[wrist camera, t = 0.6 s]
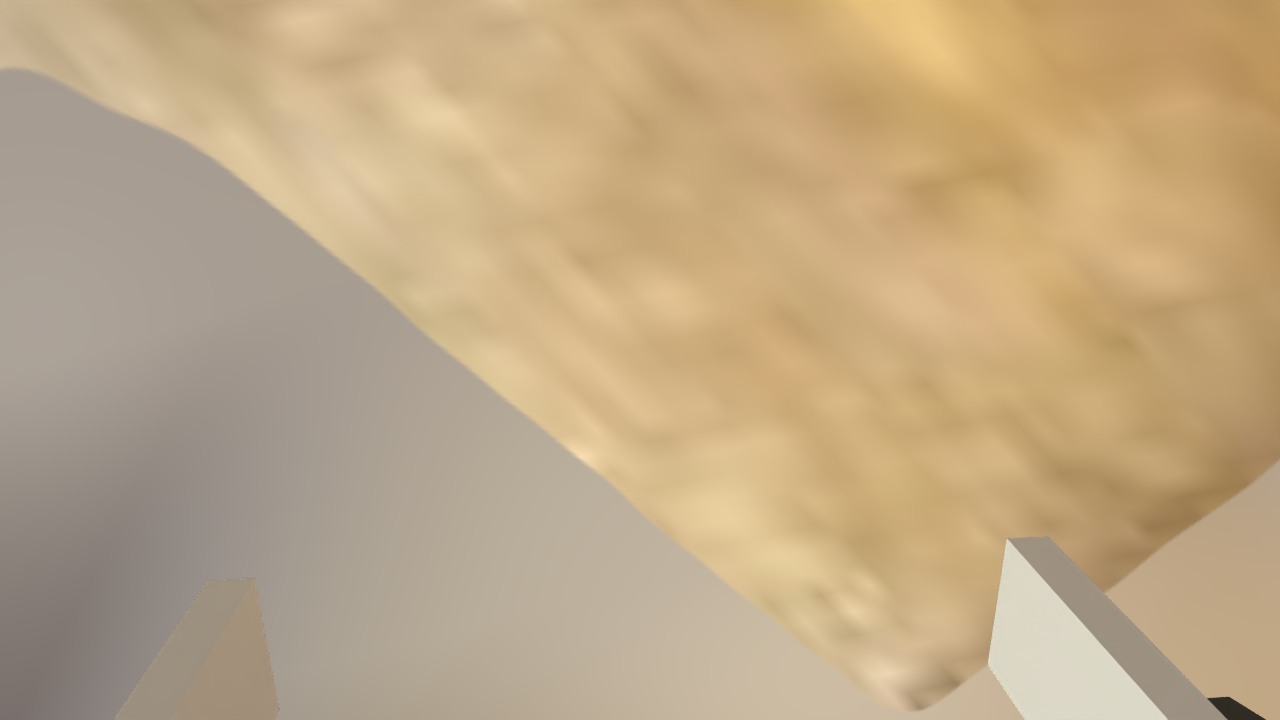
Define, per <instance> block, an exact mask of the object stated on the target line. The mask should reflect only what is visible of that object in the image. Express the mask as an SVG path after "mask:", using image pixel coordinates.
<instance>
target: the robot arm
mask: <svg viewBox="0 0 1280 720" xmlns="http://www.w3.org/2000/svg"><path fill="white" fill-rule="evenodd" d="M988 666H989V667H990V669H991V670H992V672H993V673H994V675H995V676H996V678H997V679H998V681H999V682H1000V684H1001V685H1002V687H1003V688H1004V689H1005V691H1006V692H1007V694H1008V695H1009V697H1010V698H1011V700H1012V701H1013V703H1014V704H1015V705H1016V707H1017V709H1018V710H1019V712H1020V713H1021V715H1022V716H1023V717H1024V719H1025V720H1265V719H1264V718H1262V717H1261V716H1259V715H1258V714H1256V713H1254V712H1253V711H1251V710H1249V709H1248V708H1246V707H1245V706H1243V705H1241V704H1240V703H1238V702H1237V701H1235V700H1233V699H1232V698H1230V697H1220V698H1219V697H1218V698H1206V697H1205V696H1204V695H1203V694H1202V693H1201V692H1200V691H1199V690H1198V689H1197V688H1196V687H1195V686H1194V685H1193V684H1192V683H1191V682H1190V681H1189V680H1188V679H1187V678H1186V677H1185V676H1184V675H1183V674H1182V673H1181V672H1180V671H1179V670H1178V669H1177V668H1176V666H1175V665H1173V664H1172V662H1171V661H1170V660H1169V659H1168V658H1167V657H1166V656H1165V655H1164V654H1163V653H1162V652H1161V651H1160V650H1159V649H1158V648H1157V647H1156V646H1155V645H1154V644H1153V643H1152V642H1151V641H1150V640H1149V639H1148V638H1147V637H1146V636H1145V635H1144V634H1143V633H1142V632H1141V631H1140V630H1139V629H1138V628H1137V627H1136V626H1135V625H1134V624H1133V623H1132V621H1131V620H1130V619H1128V617H1127V616H1126V615H1125V614H1124V613H1122V611H1121V610H1120V609H1119V608H1118V607H1117V606H1116V605H1115V604H1114V603H1113V602H1112V601H1111V600H1110V599H1109V598H1108V597H1107V596H1106V595H1105V594H1104V593H1103V592H1102V591H1101V590H1100V589H1099V588H1098V587H1097V586H1096V585H1095V584H1094V583H1093V582H1092V581H1091V580H1090V579H1089V577H1088V576H1087V575H1086V574H1085V573H1084V572H1083V571H1082V570H1081V569H1080V568H1079V567H1078V566H1077V565H1076V564H1075V563H1074V562H1073V561H1072V560H1071V559H1070V558H1069V557H1068V556H1067V555H1066V554H1065V553H1064V552H1063V551H1062V550H1061V549H1060V548H1059V547H1058V546H1057V545H1056V544H1055V543H1054V542H1053V541H1052V540H1051V539H1050V538H1049V537H1048V536H1047V537H1028V538H1008V539H1007V542H1006V549H1005V555H1004V562H1003V568H1002V575H1001V582H1000V588H999V595H998V601H997V608H996V614H995V621H994V627H993V634H992V640H991V647H990V653H989V660H988ZM278 712H279V704H278V698H277V693H276V688H275V683H274V677H273V672H272V667H271V662H270V656H269V651H268V646H267V641H266V635H265V630H264V625H263V620H262V615H261V609H260V604H259V599H258V594H257V588H256V583H255V578H246V579H227V580H209V581H207V582H206V584H205V585H204V587H203V588H202V590H201V591H200V593H199V594H198V596H197V597H196V599H195V600H194V602H193V603H192V605H191V606H190V608H189V609H188V610H187V612H186V613H185V615H184V616H183V618H182V620H181V621H180V622H179V624H178V625H177V627H176V628H175V630H174V631H173V633H172V634H171V636H170V637H169V638H168V640H167V641H166V643H165V644H164V646H163V648H162V649H161V650H160V652H159V653H158V655H157V656H156V658H155V659H154V661H153V662H152V664H151V665H150V667H149V668H148V670H147V671H146V672H145V674H144V675H143V677H142V678H141V680H140V681H139V683H138V684H137V686H136V687H135V689H134V690H133V692H132V693H131V695H130V696H129V698H128V699H127V700H126V702H125V704H124V705H123V706H122V708H121V710H120V711H119V712H118V714H117V715H116V717H115V718H114V720H275V718H276V716H277V714H278Z"/></svg>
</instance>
